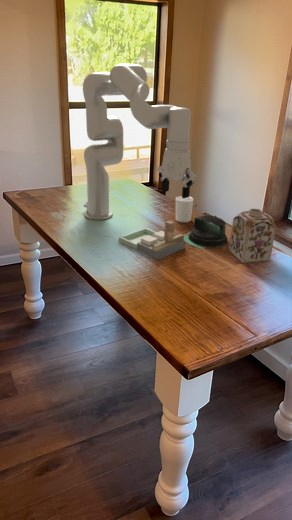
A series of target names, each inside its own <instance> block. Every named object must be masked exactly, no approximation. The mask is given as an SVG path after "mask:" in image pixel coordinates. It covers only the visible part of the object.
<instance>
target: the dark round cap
mask: <svg viewBox="0 0 292 520" xmlns="http://www.w3.org/2000/svg"><path fill="white" fill-rule="evenodd" d="M193 222H194V223H193V227H192V230H191V231H188V233H186V234H185V233H184V241H185V244H187V245H191V246H193V247H195V248H199V249H201V250H202V249H205V248H218V247H223V246H224V247H223V249H226V247H225V245H226V244H227V243H228V236H227V234H226V226H227V222H226V221H225V220H224V219H223V218H221V217H218V216H215V215H214V216H213V215H207V214H205V215H198V216H195V218H194V221H193Z"/></svg>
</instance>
